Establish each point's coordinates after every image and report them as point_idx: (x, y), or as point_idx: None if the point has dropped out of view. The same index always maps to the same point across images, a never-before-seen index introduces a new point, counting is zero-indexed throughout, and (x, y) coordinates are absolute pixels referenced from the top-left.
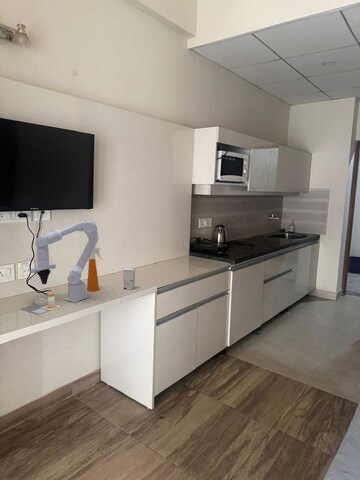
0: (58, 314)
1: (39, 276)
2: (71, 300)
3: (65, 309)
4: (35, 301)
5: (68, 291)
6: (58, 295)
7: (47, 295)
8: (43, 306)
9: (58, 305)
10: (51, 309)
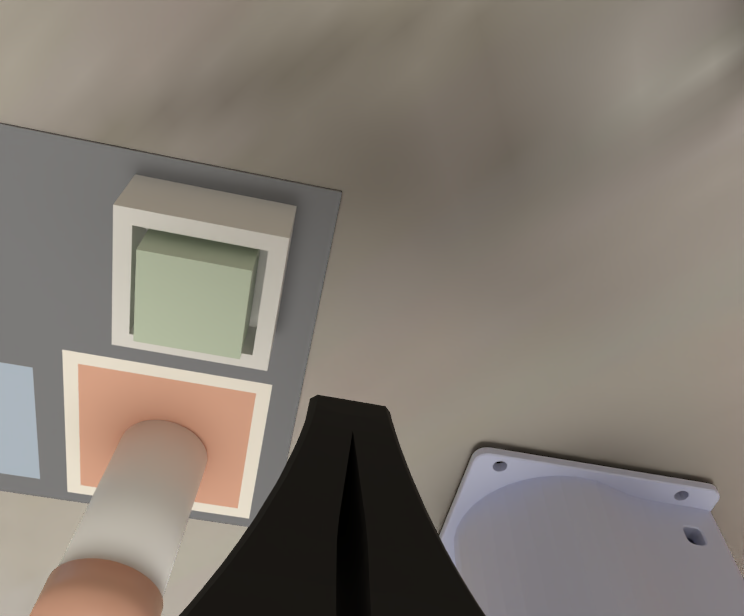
0: (22, 606)
1: (216, 579)
2: (446, 542)
3: (176, 592)
4: (119, 201)
5: (495, 608)
6: (715, 228)
7: (43, 587)
8: (121, 351)
9: (250, 483)
10: (91, 490)
